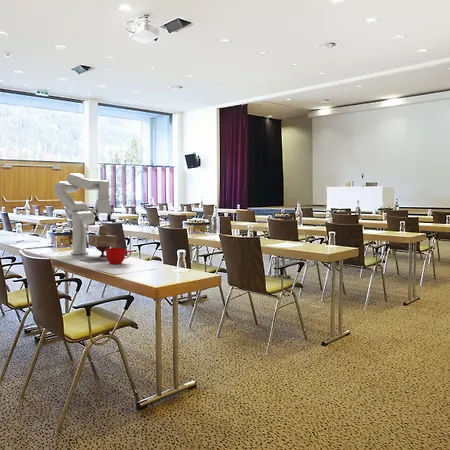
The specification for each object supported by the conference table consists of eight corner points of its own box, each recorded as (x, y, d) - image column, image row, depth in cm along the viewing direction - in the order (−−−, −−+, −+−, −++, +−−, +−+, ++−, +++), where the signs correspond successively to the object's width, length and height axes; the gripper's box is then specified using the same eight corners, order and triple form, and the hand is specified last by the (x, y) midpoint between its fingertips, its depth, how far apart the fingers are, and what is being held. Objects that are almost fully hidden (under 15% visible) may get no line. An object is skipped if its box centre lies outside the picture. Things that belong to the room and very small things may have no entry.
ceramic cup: (133, 264, 311) (134, 249, 310) (108, 266, 303) (108, 250, 302) (127, 261, 322) (128, 247, 321) (103, 263, 314) (103, 248, 313)
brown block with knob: (88, 245, 339) (89, 225, 339) (106, 245, 350) (107, 225, 350) (98, 246, 329) (99, 225, 329) (116, 246, 339) (117, 226, 339)
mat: (77, 260, 321) (77, 259, 321) (99, 258, 333) (99, 257, 333) (89, 263, 309) (89, 263, 309) (112, 261, 320) (112, 261, 320)
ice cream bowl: (106, 258, 334) (106, 237, 333) (92, 257, 336) (92, 236, 335) (112, 256, 344) (113, 236, 343) (98, 255, 347) (99, 235, 346)
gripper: (111, 197, 346) (110, 220, 347) (89, 197, 334) (89, 220, 335) (116, 198, 341) (115, 221, 342) (95, 197, 329) (94, 221, 330)
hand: (102, 221), depth 339 cm, fingers open, 9 cm apart
